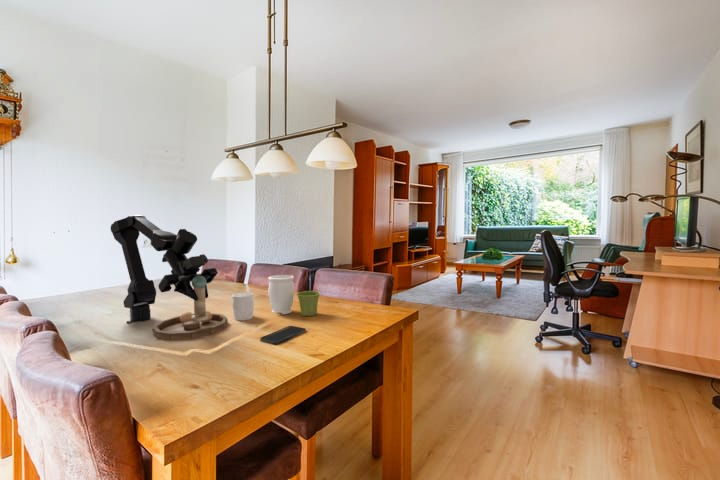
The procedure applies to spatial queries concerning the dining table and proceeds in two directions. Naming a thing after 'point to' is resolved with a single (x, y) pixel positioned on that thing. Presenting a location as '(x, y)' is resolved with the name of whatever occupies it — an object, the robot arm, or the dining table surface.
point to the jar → (281, 293)
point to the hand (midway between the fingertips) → (202, 298)
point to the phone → (282, 335)
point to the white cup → (243, 305)
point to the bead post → (199, 299)
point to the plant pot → (308, 302)
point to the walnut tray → (188, 328)
